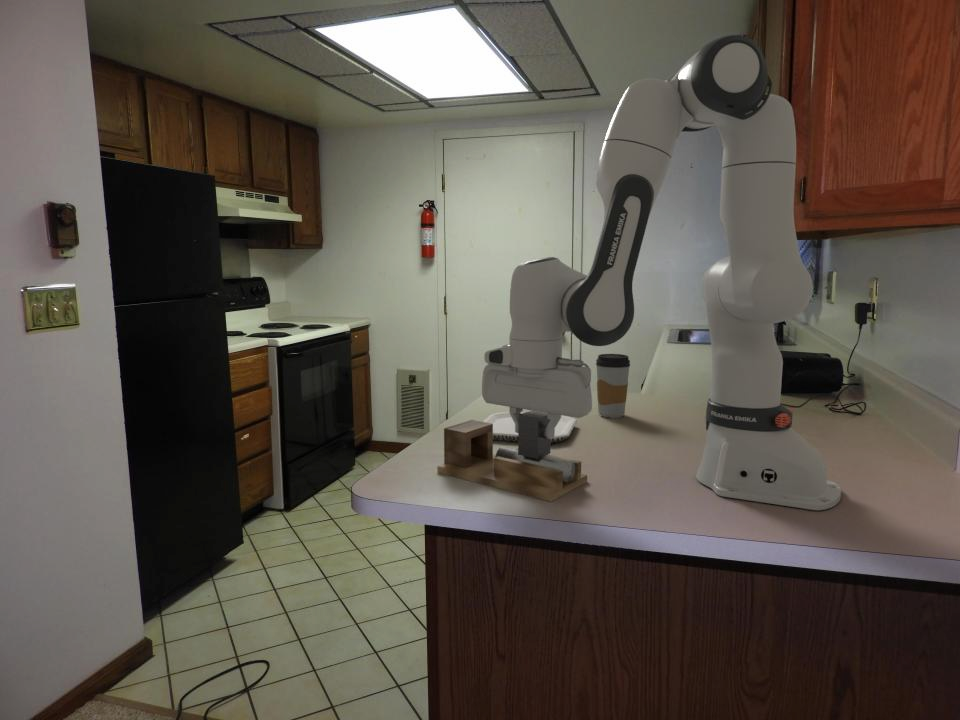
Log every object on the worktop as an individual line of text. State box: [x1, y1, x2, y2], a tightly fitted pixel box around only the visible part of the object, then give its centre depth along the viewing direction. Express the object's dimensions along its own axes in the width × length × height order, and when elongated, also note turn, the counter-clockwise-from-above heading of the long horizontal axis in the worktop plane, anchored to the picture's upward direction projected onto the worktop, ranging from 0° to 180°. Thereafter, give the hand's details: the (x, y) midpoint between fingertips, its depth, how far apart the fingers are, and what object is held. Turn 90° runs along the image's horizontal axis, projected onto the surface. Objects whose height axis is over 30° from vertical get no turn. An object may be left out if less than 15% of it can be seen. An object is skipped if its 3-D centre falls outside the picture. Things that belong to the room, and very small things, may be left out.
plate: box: [482, 411, 578, 444], centre depth 146 cm, size 21×21×2 cm
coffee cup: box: [595, 353, 631, 419], centre depth 160 cm, size 8×8×15 cm
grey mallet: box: [495, 410, 575, 483], centre depth 111 cm, size 14×4×11 cm, turn 52°
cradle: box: [437, 419, 588, 503], centre depth 114 cm, size 24×12×8 cm, turn 52°
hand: (534, 435), depth 111 cm, fingers closed on grey mallet, 4 cm apart
